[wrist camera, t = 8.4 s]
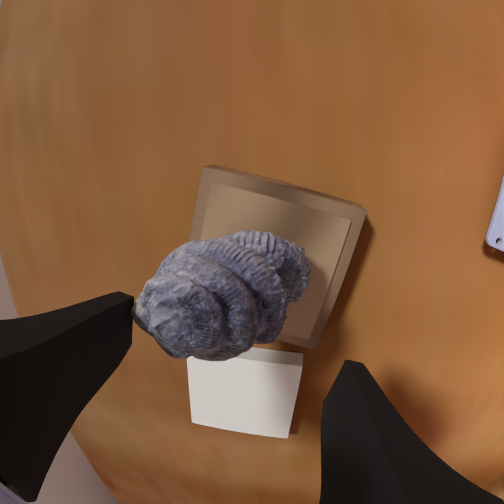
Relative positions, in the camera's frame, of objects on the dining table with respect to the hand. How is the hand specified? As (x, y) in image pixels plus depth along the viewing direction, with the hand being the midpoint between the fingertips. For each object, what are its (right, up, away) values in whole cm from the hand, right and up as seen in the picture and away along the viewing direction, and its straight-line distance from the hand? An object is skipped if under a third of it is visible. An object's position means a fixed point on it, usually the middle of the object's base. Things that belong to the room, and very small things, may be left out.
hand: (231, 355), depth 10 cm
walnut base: (+2, +3, +10) cm, 10 cm away
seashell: (+2, +2, +8) cm, 8 cm away
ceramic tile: (0, -7, +13) cm, 15 cm away
